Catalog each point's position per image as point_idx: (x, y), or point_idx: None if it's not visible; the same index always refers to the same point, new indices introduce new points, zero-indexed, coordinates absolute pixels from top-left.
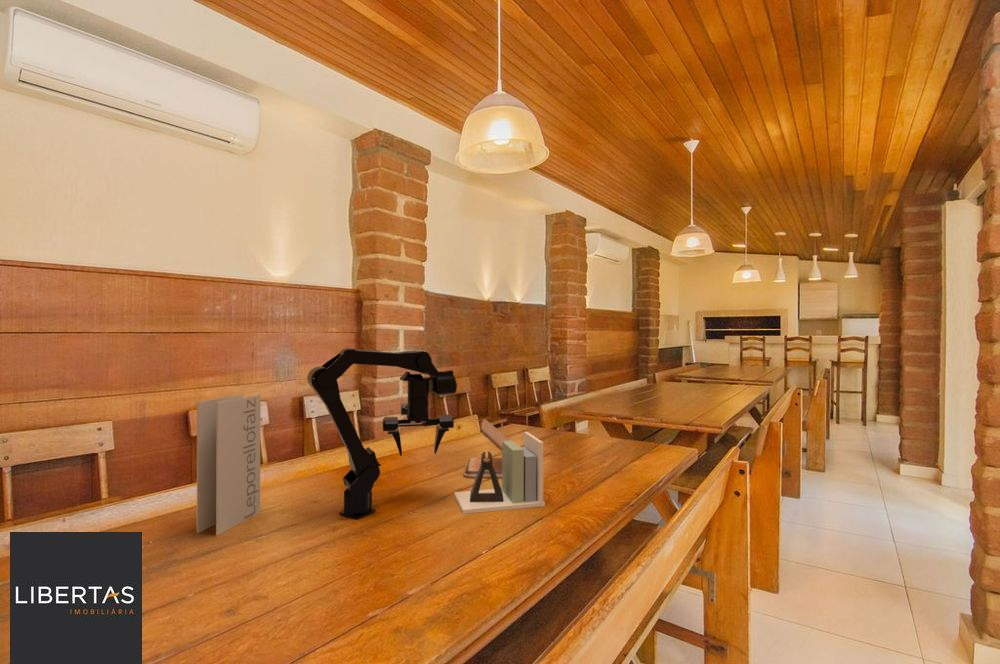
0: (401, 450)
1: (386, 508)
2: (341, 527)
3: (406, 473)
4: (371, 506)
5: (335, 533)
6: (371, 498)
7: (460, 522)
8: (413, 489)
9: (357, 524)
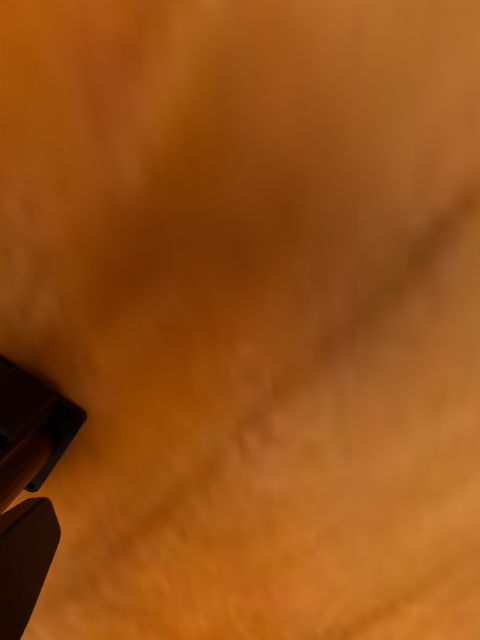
0: (24, 626)
1: (128, 379)
2: None
3: None
4: (55, 400)
5: None
6: (33, 420)
7: (472, 570)
8: (231, 59)
9: None
